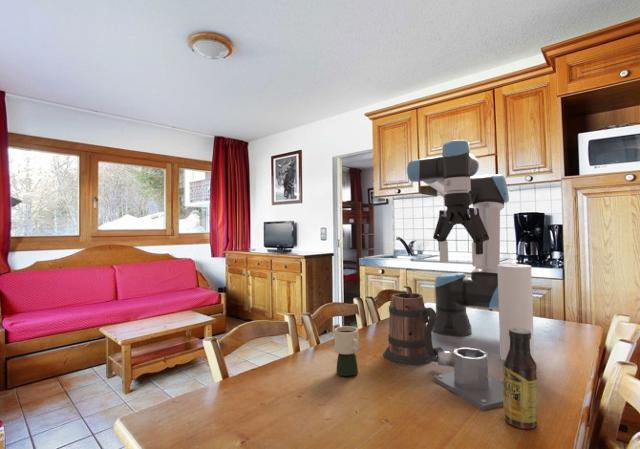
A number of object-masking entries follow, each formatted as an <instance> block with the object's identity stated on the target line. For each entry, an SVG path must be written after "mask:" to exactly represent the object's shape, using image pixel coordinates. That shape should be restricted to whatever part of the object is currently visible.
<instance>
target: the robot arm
mask: <svg viewBox="0 0 640 449" xmlns="http://www.w3.org/2000/svg"><path fill="white" fill-rule="evenodd" d="M470 151H471V148H470V142H469V141H468V140H466V139H456V140H455V139H454V140H449V141H447V142H445V143H443V145H442V154H441V155H440V156H434V157H427V158H418V159H414V160H410V161H409V162H408V163H407V167H406V168H407V169H406V174H407V178H408V180H409V181H410V182H412V183H413V182H415V183H419V182H423V183H425V184H426V185H428V186H429V187H431V188H433V189H434V190H436V191H437V192H439V194H440V196H441V197H442V198H443V200H444V201H443V204H444V207H446V209H441V210H439V211H438V212H439V213H438V219H437V222H436V223H437V224H436V225H435V226H436V227H435V230H434V234H433V236H432V237H433V240H437V243H438V252H439V263H449V244H448V243H449V242H448V236H449V235H450V233H451V232H452V229H453V227H454V226H455V225H461V226H463V227H464V228H465V230H466V232H467V233H468V235H469V236H470V237H471V240H472V242H471V257H472V258H471V259H472V260H471V261H472V267H475V268H474V269H473V270H472V271H471V272H470V276H467V275H466V273H465V272H451V273H445V274H439V275H437V276H436V277H435V283H434V289H435V313H436V321H435V324H434V326H433V329H432V332H434V333H437V334H439V335H445V336H451V337H454V336H456V337H457V336H458V337H460V336H467V335H470V334H471V335H472V330H473V328H472V325H471V323H470V322H471V321H470V319H469V315H468V313H467V307H469V308H478V309H486V310H487V309H488V310H499V299H498V269H497V265H500V263H501V260H500V259H501V258H500V257H501V256H500V255H501V254H500V253H501V252H500V249H501V248H500V247H501V245H500V244H501V242H500V241H501V240H500V239H501V211H502V210H504V208H505V203H509V200H510V199H509V198H510V196H509V191H508V185H507V181H506V178H505V176H504V175H503V174H501V173H497V174H496V173H495V174H493V173H490V174H484V175H476V174H477V172H478V171H479V169H480V163H479V160H478V159H477V157H476V156H475V155H473V154H472V153H470ZM471 205H472V207H470V206H471Z"/></svg>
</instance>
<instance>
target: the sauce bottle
mask: <svg viewBox="0 0 640 449" xmlns="http://www.w3.org/2000/svg"><path fill="white" fill-rule="evenodd" d="M509 336H510V349H509V351H508V354H507V357H506V360H504V363H503V375H502V378H503V381H502V382H503V385H504V386H503V395H504V405H503V413H504V414H503V415H504V419H505V421H506V422H507V423H508V424H509V425H512V426H513V427H515V428H517V429H523V430H530V429H531V430H532V429H534V428H536V426H537V420H538V377H537V363H536V361H535V358H534V359H533V358H532V356H531V354H530V339H531V332H530V331H529V330H526V329H523V328H511V329H509Z"/></svg>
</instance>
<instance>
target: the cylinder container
mask: <svg viewBox="0 0 640 449" xmlns="http://www.w3.org/2000/svg"><path fill="white" fill-rule="evenodd" d="M497 269H498V299H499V309H498V321H499V322H498V323H499V324H498V327H499V355H500V356H499V357H500V359H502V360H503V361H505V360H506V357H507V354H508V351H509V349H510V336H509V329H511V328H523V329H526V330H529V331H530V332H531V339H530V354H531V356H532V358H533V359H534V360H535V337H534V336H535V335H534V312H533V310H534V309H533V308H534V307H533V305H534V304H533V282H532V279H533V278H532V265H529V264H521V263H505V264H500V265H497Z"/></svg>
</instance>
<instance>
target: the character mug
mask: <svg viewBox="0 0 640 449" xmlns="http://www.w3.org/2000/svg"><path fill="white" fill-rule="evenodd" d="M333 334H334V337H333V338H334V351H335V353H337V354H338V355H337V361H336V374H337V375H339V376H345V377H348V376H349V377H350V376H353V375H357V374H358V373H359V369H358V362H357V356H356V353H357V352H358V351H359V350H360V346H359V338H360V337H359V336H360V335H359V328H358V327H356V326H349V325H343V326H337V327H336V328H334V331H333Z"/></svg>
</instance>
